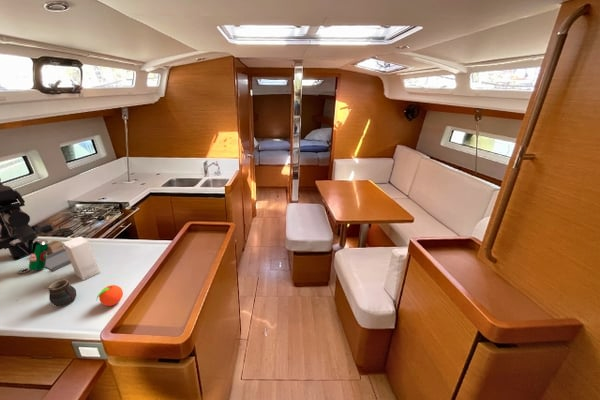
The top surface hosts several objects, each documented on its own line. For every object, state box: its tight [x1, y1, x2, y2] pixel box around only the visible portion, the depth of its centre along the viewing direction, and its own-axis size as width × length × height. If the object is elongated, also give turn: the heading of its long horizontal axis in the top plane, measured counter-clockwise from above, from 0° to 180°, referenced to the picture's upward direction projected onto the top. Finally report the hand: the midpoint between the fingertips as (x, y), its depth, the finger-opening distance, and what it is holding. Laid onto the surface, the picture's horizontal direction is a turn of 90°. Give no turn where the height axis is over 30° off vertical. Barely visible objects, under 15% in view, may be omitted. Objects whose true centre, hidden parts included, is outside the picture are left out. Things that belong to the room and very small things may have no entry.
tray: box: [45, 248, 72, 272], centre depth 121 cm, size 14×13×2 cm
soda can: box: [28, 239, 49, 271], centre depth 113 cm, size 5×5×12 cm
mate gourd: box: [44, 279, 77, 307], centre depth 94 cm, size 7×8×10 cm
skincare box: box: [62, 235, 101, 281], centre depth 108 cm, size 8×7×16 cm
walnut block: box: [47, 240, 64, 255], centre depth 125 cm, size 5×5×5 cm
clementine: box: [96, 284, 124, 307], centre depth 94 cm, size 8×7×7 cm
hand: (29, 253), depth 110 cm, fingers closed
